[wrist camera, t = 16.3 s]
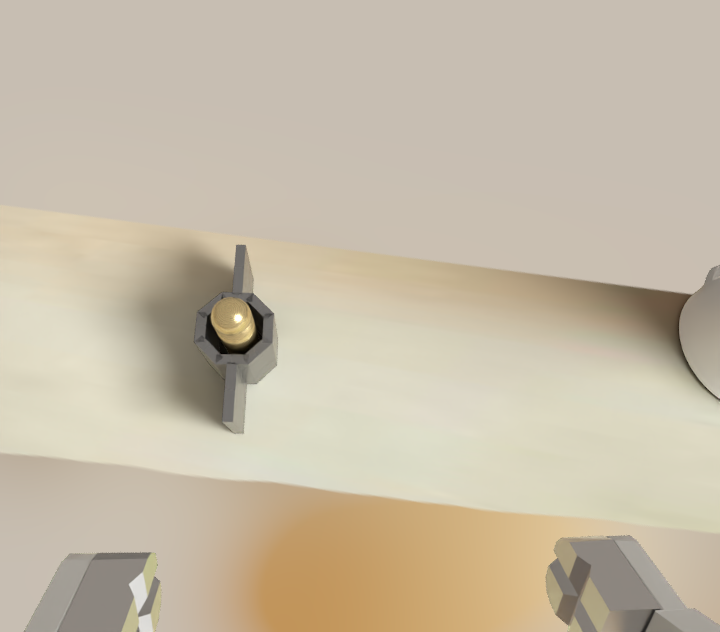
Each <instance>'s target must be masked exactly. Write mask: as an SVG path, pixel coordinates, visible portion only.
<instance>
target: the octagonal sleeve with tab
mask: <svg viewBox="0 0 720 632" xmlns="http://www.w3.org/2000/svg"><path fill="white" fill-rule="evenodd" d="M227 297H236V298H239V299H241V300H243V301H244V302H245V303H246V304H247V305H248V306H249V308H250V310H251V313H252V316H253V319H254V322H255V325H256V329H257V331H258V332H259V333H260V334H261V335H262V336H263V339H262V340H261V341H260V342H258V343H257V344H256V345H255V346H254V347H253V348H252V349H251V350H249V351H248V352H247V353H246V354H245V355H241V354H220V346H221V342H222V341H221V339H220V337H219V336H218V334H217V332H216V330H215V329H214V327H213V325H212V322H211V311H212V309H213V307H214V305H215V304H216V303H217V302H218V301H220V300H221V299H224V298H227ZM194 343H195V344H196V345H197V347H198V348H199V350H200V351H201V353H202V354H203V355H204V357H205V358H206V360H207V361H208V363H209V364H210V365H211V366H212V367H213V368H214V369H215V371H216V372H217V373H218V374H219V375H220V376H221V377H222V378H223V379H224V380H225V391H224V404H223V416H222V422H223V423H224V424H225V425H226V426H227V427H228V428H229V429H230V430H231V431H232V432H233V433H234V434H241V433H244V420H245V404H246V389H247V384H257V383H258V382H259V381H260V380H261V379H262V378H264V377H265V376H266V375H267V374H268V373H269V372H270V371H271V370H272V369H273V368H274V367H276V366H277V349H278V337H277V331H276V324H275V318H274V313H273V312H272V311H271V310H270V309H269V308H268V307H267V306H266V305H265V304H264V303H263V302H262V301H261V300H260V299H259V298H258V297H257V296H256V295H254V294H253V275H252V271H251V266H250V262H249V257H248V253H247V248H246V245H236V255H235V267H234V280H233V292H221V293H220V294H219V295H218V296H216V297H215V298H214V299H213V300H211V301H210V302H209V303H208V304H206V305H205V306H204V307H203V308H201V309H200V310H199V311H198V312H197V318H196V328H195V337H194Z"/></svg>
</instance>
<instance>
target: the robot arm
mask: <svg viewBox="0 0 720 632" xmlns="http://www.w3.org/2000/svg"><path fill="white" fill-rule="evenodd" d="M679 335H680V341H681V346H682V349H683V352H684V355H685V357H686V359H687V361H688V363H689V365H690V367H691V369H692V370H693V372H694V373H695V375H696V376H697V377H698V379H699V380H700V381H701V382H702V383H703V385H704V386H705V387H706V388H707V389H708V390H709V391H710V392H712V393H713V394H714V395H715V396H716V397H718V398H719V399H720V265H719V266H716V267H714V268H712V269H711V270H710V271H709V273H708V275H707V278H706V281H705V284H704V285H703V287H702V288H701V289H699V290H698V291H697V292H696V293H694V294H693V295H692V296H691V297H690V298H689V299H688V300H687V302H686V303H685V305H684V307H683V309H682V312H681V316H680V321H679ZM554 552H555V554H556V556H557V557H558V558H557V559H556V560H555V561H553V562H552V563H551V564H550V565H549V566H548V570H547V574H546V588H547V594H548V597H549V601H550V603H551V606H552V608H553V610H554V612H555V614H556V615H557V616H558V617H559V618H560V619H561V620H562V621H563V622H565V623H566V624H567V625H568V631H567V632H720V625H718V624H717V623H715V622H714V621H713V620H711V619H710V618H708V617H707V616H705V615H704V614H702V613H701V612H699V611H698V610H696V609H695V608H687V607H686V605H685V604H684V603H683V601H682V600H681V599H680V597H679V596H678V595H677V593H676V592H675V591H674V589H673V588H672V587H671V585H670V584H669V583H668V581H667V580H666V579H665V577H664V576H663V575H662V573H661V572H660V571H659V569H658V568H657V567H656V565H655V564H654V563H653V561H652V560H651V559H650V557H649V556H648V555H647V553H646V552H645V551H644V549H643V548H642V547H641V545H640V544H639V543H638V541H637V540H636V539H634V538H633V537H632V536H630V535H628V536H606V537H605V536H589V537H568V538H561V539H560V540H558V541H557V543H556V545H555V548H554ZM157 566H158V564H157V559H156V554H155V553H81V554H80V553H79V554H78V553H77V554H76V553H75V554H69V555H68V556H67V557H66V558H65V559H64V560H63V561H62V562H61V564H60V566H59V568H58V569H57V571H56V573H55V575H54V577H53V579H52V580H51V582H50V584H49V586H48V588H47V590H46V592H45V593H44V595H43V597H42V599H41V601H40V603H39V605H38V606H37V608H36V610H35V612H34V614H33V616H32V618H31V620H30V621H29V623H28V625H27V627H26V629H25V631H24V632H155V631H156V626H157V623H158V620H159V613H160V607H161V583H160V581H159V580H158V579H157V578H156V577H155V576H154V575H155V572H156V569H157Z"/></svg>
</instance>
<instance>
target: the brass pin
mask: <svg viewBox="0 0 720 632" xmlns="http://www.w3.org/2000/svg"><path fill="white" fill-rule="evenodd" d="M211 322H212V325H213V327H214V329H215V330H216V332H217V334H218V336H219V337H220V339H221V341H222V343H223V345H224V346H225V348H226V350H227V352H228V353H229V354H241V355H245V354H246V353H247V352H248V351H249V350H251V349H252V348H253V347H254V346H255V345H256V344H257V343H258V342H260V338H259V335H258V332H257V329H256V325H255V322H254V319H253V316H252V313H251V310H250V308H249V306H248V305H247V304H246V303H245V302H244V301H243V300H241V299H239V298H236V297H227V298H224V299H221V300H220V301H218V302H217V303H216V304H215V305H214V307H213V309H212V311H211Z"/></svg>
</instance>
